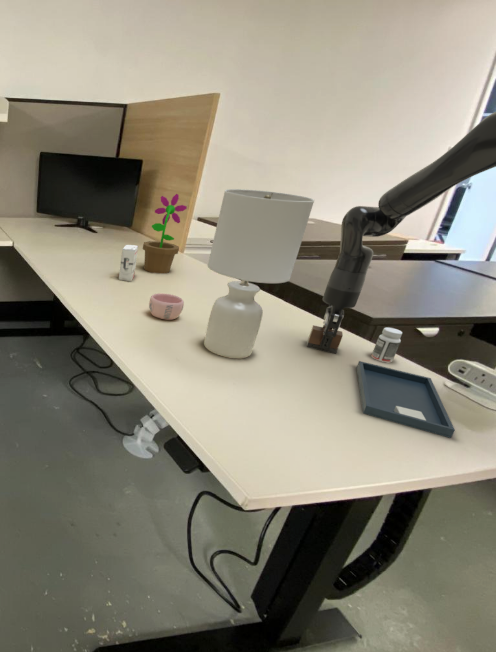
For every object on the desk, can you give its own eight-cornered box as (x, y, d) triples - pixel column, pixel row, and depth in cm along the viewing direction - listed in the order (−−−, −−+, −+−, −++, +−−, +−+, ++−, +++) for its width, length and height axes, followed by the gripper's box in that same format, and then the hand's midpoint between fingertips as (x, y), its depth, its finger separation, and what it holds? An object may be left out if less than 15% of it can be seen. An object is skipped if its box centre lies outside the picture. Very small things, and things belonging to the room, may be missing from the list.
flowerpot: (178, 270, 193) (194, 195, 181) (168, 277, 182) (184, 198, 169) (145, 263, 200) (158, 190, 187) (133, 270, 188) (146, 193, 176)
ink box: (121, 274, 182) (126, 243, 177) (134, 276, 180) (139, 245, 175) (117, 279, 174) (122, 248, 169) (130, 281, 173) (136, 250, 168)
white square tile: (418, 416, 96) (421, 411, 96) (424, 426, 93) (426, 421, 93) (393, 410, 98) (396, 405, 97) (398, 419, 95) (400, 414, 94)
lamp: (229, 332, 133) (267, 190, 117) (282, 362, 118) (334, 202, 101) (175, 338, 127) (207, 188, 111) (222, 370, 111) (268, 200, 95)
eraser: (335, 350, 127) (342, 331, 125) (335, 354, 124) (342, 335, 122) (306, 343, 130) (313, 325, 128) (306, 347, 127) (312, 329, 125)
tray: (355, 368, 117) (358, 360, 116) (427, 385, 111) (430, 378, 110) (362, 414, 97) (366, 405, 96) (450, 439, 91) (455, 430, 90)
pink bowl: (184, 323, 137) (188, 305, 135) (151, 321, 137) (154, 302, 135) (173, 309, 148) (177, 291, 146) (142, 307, 148) (145, 289, 146)
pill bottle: (393, 359, 124) (406, 331, 120) (390, 365, 121) (403, 335, 117) (372, 353, 127) (384, 325, 123) (369, 358, 123) (381, 329, 120)
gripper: (363, 296, 112) (340, 356, 119) (359, 283, 124) (338, 338, 131) (327, 289, 116) (307, 348, 122) (327, 277, 127) (308, 331, 134)
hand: (323, 343), depth 127 cm, fingers open, 8 cm apart
